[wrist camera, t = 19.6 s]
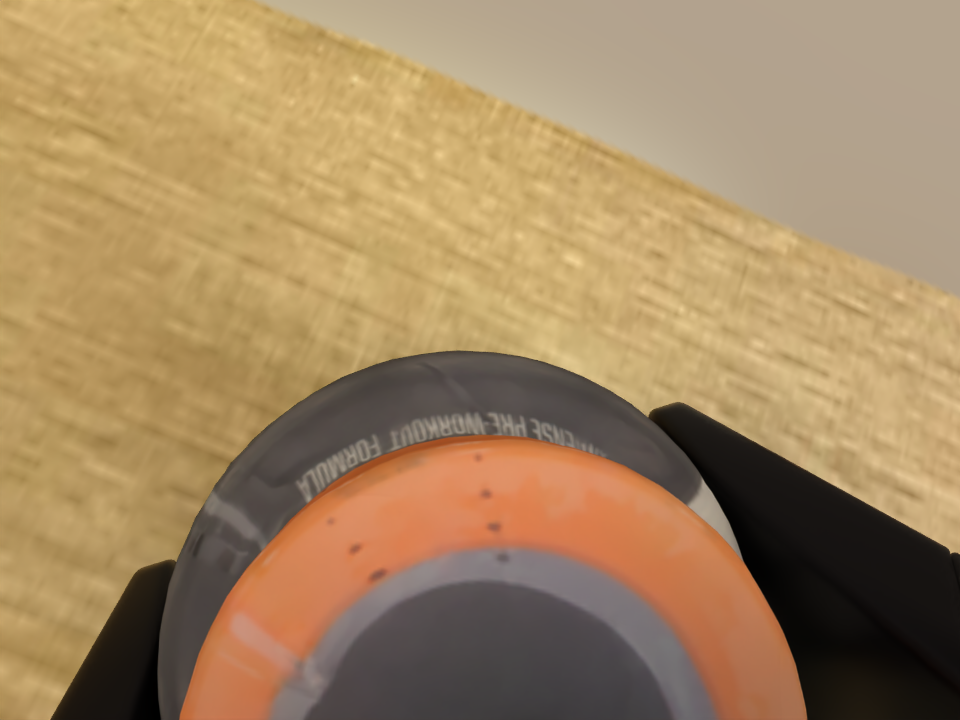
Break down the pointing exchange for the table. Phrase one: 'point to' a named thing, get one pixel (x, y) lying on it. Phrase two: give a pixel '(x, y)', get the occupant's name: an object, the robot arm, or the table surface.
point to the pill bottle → (467, 563)
